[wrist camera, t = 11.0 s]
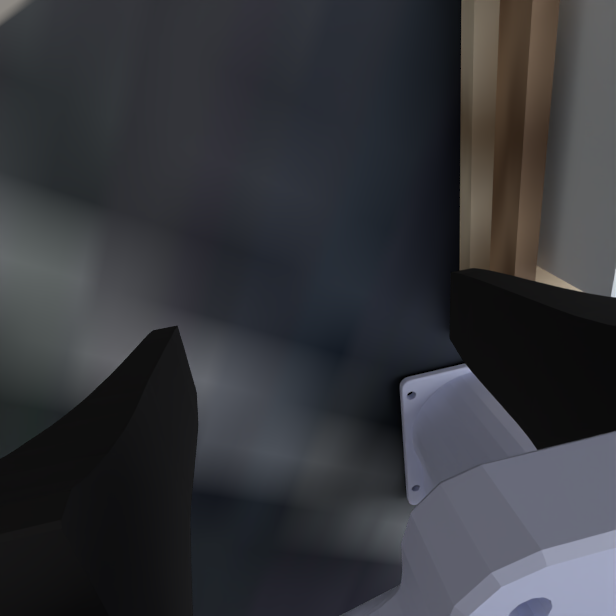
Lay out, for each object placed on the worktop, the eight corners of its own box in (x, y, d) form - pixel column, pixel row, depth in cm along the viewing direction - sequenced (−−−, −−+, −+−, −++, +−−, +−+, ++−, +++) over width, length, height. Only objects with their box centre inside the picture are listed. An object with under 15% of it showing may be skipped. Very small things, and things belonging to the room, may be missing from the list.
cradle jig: (648, 287, 26) (698, 311, 23) (459, 330, 25) (489, 360, 22) (739, -148, 17) (834, -190, 15) (462, -114, 16) (511, -152, 14)
